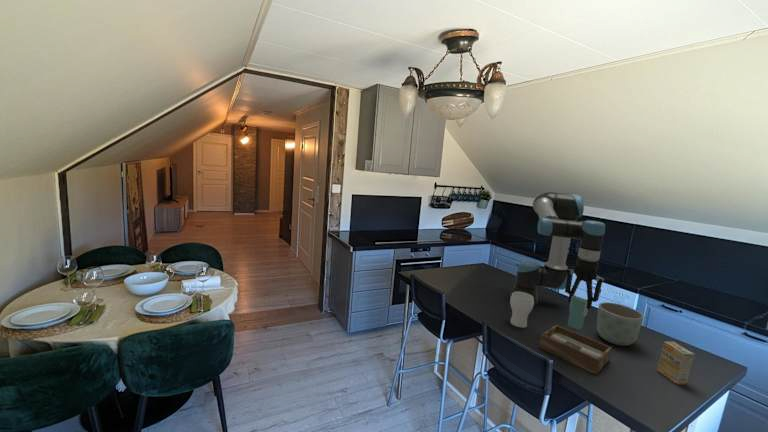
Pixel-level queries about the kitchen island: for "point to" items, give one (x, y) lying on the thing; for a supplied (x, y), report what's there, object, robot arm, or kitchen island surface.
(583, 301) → the peg
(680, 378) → the supplement box
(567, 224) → the robot arm
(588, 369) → the crate
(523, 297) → the cup
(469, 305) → the kitchen island surface
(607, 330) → the planter
